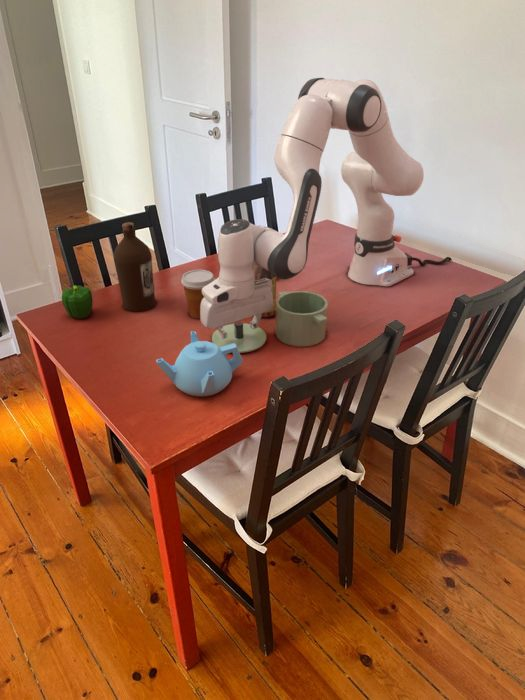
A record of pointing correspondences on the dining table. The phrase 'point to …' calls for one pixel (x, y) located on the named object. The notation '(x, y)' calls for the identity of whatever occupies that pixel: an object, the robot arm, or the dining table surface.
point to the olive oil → (134, 271)
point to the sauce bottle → (267, 274)
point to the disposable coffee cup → (195, 289)
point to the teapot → (202, 367)
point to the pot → (301, 318)
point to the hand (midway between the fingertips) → (238, 332)
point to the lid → (241, 337)
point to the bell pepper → (77, 301)
